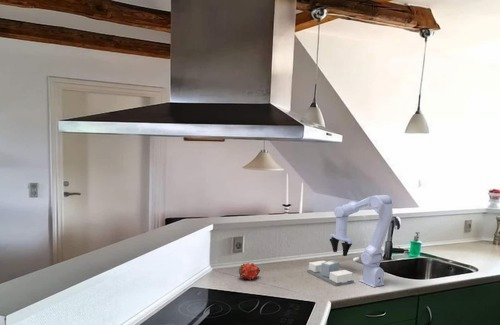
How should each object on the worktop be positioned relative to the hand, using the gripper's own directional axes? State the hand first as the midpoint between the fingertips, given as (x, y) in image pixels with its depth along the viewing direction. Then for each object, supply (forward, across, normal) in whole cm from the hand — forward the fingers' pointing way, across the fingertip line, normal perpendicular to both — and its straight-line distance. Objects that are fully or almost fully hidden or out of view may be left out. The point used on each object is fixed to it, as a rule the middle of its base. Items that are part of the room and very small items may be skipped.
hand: (339, 253), depth 199 cm
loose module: (+8, -6, +11) cm, 15 cm away
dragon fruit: (+10, +9, +50) cm, 52 cm away
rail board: (+9, -6, +12) cm, 16 cm away
